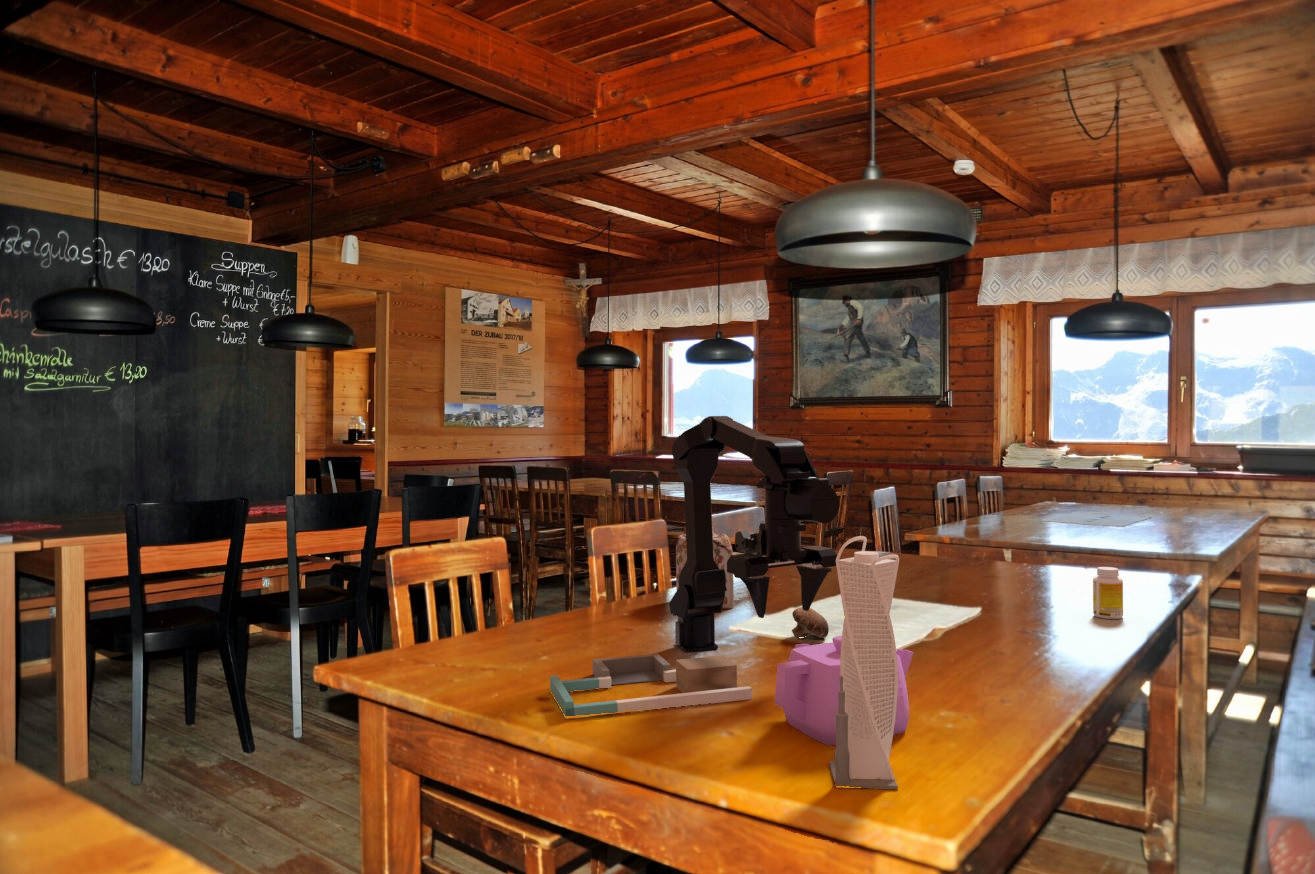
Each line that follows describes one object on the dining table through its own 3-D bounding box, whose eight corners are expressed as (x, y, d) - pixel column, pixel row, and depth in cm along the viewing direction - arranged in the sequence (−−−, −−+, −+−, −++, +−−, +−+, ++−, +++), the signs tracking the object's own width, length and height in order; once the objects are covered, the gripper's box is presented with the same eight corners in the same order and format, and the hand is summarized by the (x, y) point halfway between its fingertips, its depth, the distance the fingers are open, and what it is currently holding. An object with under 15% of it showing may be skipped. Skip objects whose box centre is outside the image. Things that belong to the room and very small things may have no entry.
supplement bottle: (1129, 618, 181) (1129, 569, 181) (1106, 620, 180) (1105, 571, 179) (1109, 613, 186) (1109, 565, 186) (1087, 614, 185) (1086, 566, 185)
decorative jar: (676, 600, 206) (674, 524, 206) (724, 598, 208) (723, 522, 207) (683, 610, 194) (681, 530, 194) (734, 608, 196) (733, 528, 195)
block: (723, 682, 141) (723, 655, 141) (737, 693, 136) (736, 665, 136) (676, 687, 139) (676, 659, 139) (688, 699, 133) (687, 669, 133)
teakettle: (771, 740, 115) (770, 647, 115) (796, 701, 131) (796, 619, 131) (904, 756, 109) (903, 658, 109) (914, 713, 125) (913, 627, 125)
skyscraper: (828, 759, 109) (825, 534, 108) (894, 760, 108) (892, 534, 107) (835, 787, 100) (833, 544, 100) (907, 789, 99) (905, 544, 99)
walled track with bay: (706, 663, 152) (706, 648, 152) (752, 698, 132) (751, 682, 132) (543, 679, 144) (542, 664, 144) (565, 719, 124) (565, 702, 124)
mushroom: (778, 623, 167) (796, 596, 168) (787, 630, 174) (805, 604, 175) (812, 648, 163) (831, 620, 164) (820, 654, 170) (838, 628, 171)
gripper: (795, 509, 153) (795, 598, 153) (706, 517, 143) (707, 612, 143) (839, 515, 143) (840, 610, 143) (747, 523, 133) (748, 625, 134)
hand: (783, 613), depth 141 cm, fingers open, 9 cm apart
